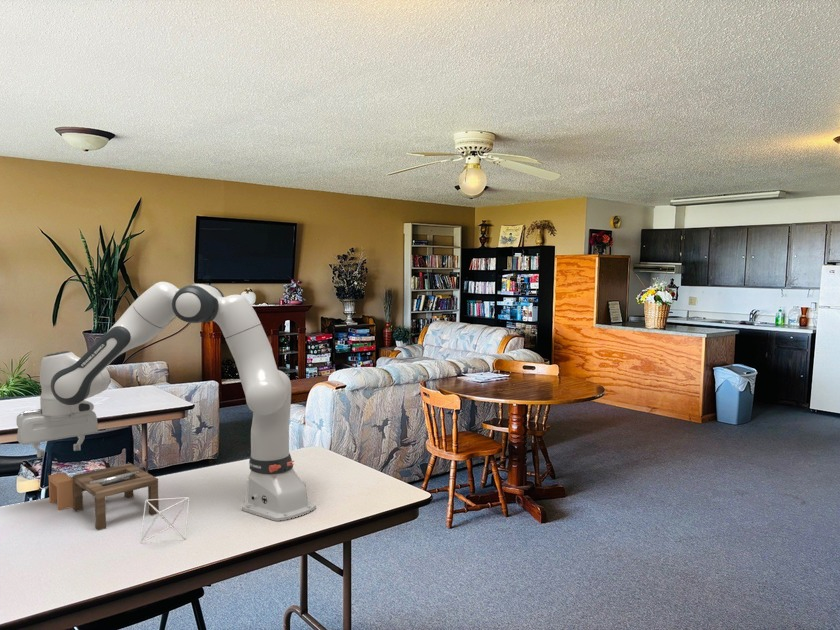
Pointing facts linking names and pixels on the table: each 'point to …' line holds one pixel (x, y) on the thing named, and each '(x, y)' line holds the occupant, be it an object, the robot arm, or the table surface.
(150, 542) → the geometric polyhedron
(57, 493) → the tan cardboard brick
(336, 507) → the table surface
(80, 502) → the small wooden table
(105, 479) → the grey textured rod
